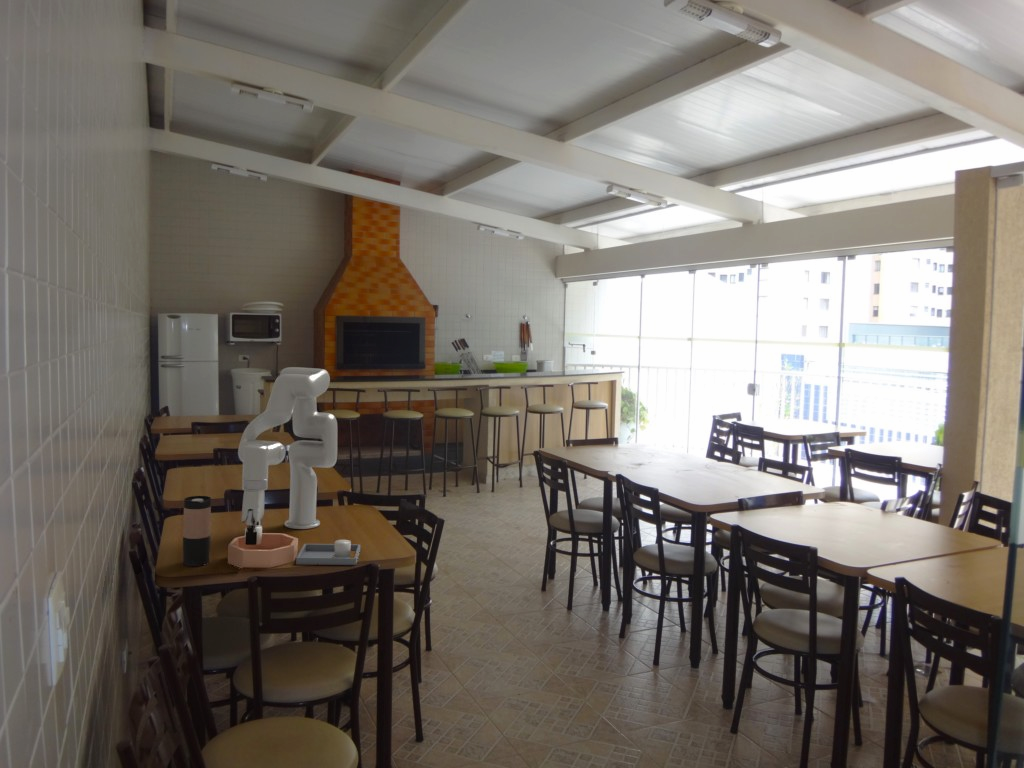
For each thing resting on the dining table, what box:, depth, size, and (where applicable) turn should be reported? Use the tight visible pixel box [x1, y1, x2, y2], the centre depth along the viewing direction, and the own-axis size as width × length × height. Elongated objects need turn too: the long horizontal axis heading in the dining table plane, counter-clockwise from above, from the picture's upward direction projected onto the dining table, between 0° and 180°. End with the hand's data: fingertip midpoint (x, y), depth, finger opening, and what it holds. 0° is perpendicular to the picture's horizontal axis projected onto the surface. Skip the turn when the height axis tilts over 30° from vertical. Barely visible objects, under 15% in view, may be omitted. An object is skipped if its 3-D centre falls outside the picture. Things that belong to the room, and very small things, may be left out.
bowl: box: [227, 532, 299, 570], centre depth 225 cm, size 20×20×6 cm
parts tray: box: [295, 543, 361, 566], centre depth 229 cm, size 15×18×3 cm
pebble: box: [334, 539, 352, 558], centre depth 229 cm, size 5×5×5 cm
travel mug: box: [182, 495, 212, 567], centre depth 218 cm, size 8×8×20 cm
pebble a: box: [244, 525, 263, 545], centre depth 224 cm, size 5×5×5 cm
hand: (253, 541), depth 224 cm, fingers closed on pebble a, 4 cm apart
